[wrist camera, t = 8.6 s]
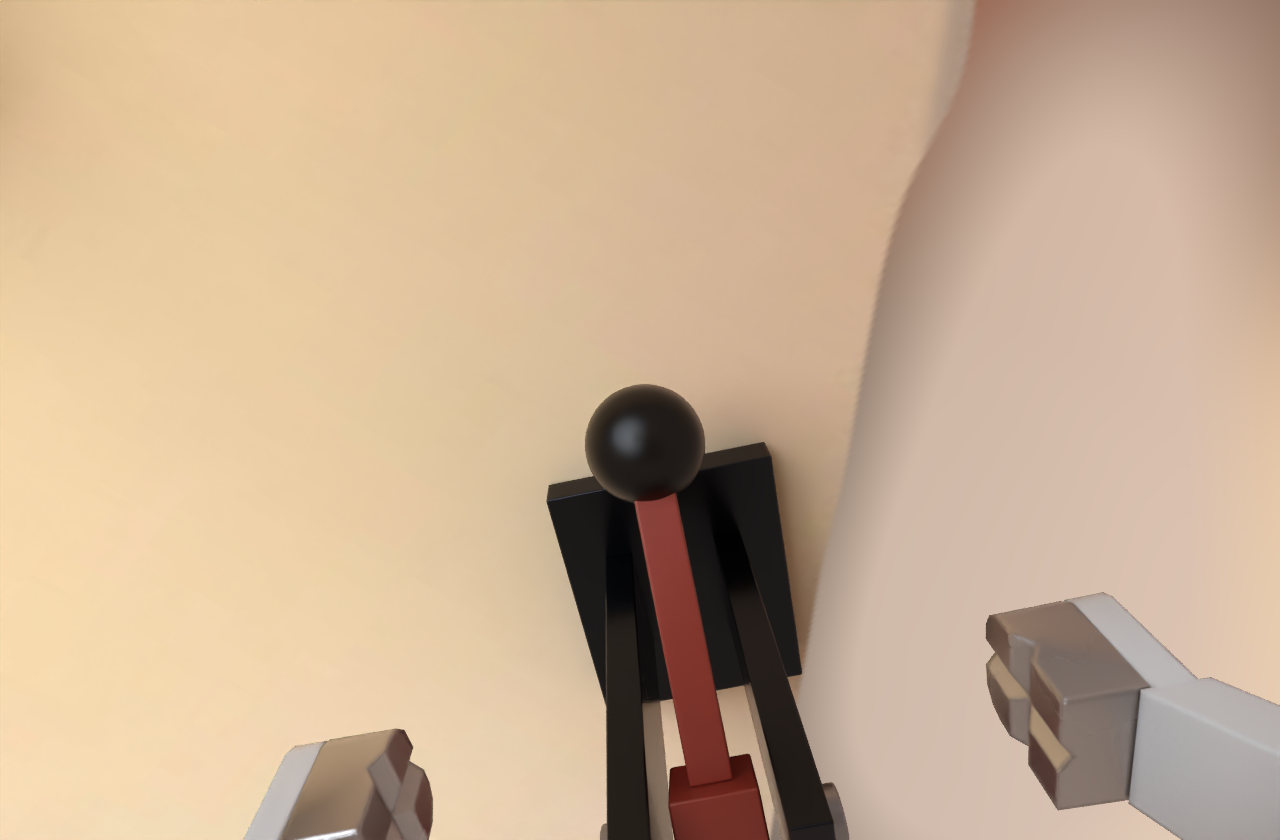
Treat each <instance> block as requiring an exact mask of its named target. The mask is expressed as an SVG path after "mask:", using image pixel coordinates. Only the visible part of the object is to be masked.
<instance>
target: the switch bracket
mask: <svg viewBox="0 0 1280 840" xmlns="http://www.w3.org/2000/svg"><path fill="white" fill-rule="evenodd" d="M677 500H678V505H679V510H680V515H681V520H682V525H683V530H684V535H685V540H686V545H687V550H688V555H689V560H690V564H691V569H692V574H693V579H694V584H695V589H696V594H697V599H698V604H699V609H700V614H701V619H702V624H703V629H704V634H705V639H706V643H707V648H708V653H709V658H710V663H711V668H712V673H713V678H714V683H715V688H716V690H722V689H727V688H732V687H737V686H743V685H744V687H745V691H746V695H747V699H748V703H749V707H750V712H751V716H752V720H753V724H754V728H755V732H756V736H757V740H758V744H759V748H760V752H761V757H762V761H763V765H764V769H765V773H766V777H767V781H768V785H769V789H770V793H771V797H772V802H773V806H774V810H775V814H776V818H777V822H778V826H779V829H780V834H781V838H782V840H849V833H848V828H847V823H846V819H845V814H844V811H843V807H842V804H841V801H840V797H839V794H838V792H837V789H836V787H835V785H834V784H833V783H825V784H822V783H821V780H820V777H819V774H818V771H817V768H816V765H815V762H814V758H813V755H812V752H811V749H810V746H809V743H808V740H807V737H806V734H805V731H804V728H803V725H802V722H801V719H800V716H799V712H798V709H797V706H796V703H795V700H794V697H793V694H792V691H791V687H790V684H789V681H788V678H787V677H790V676H796V675H801V674H802V668H801V661H800V654H799V647H798V640H797V633H796V626H795V619H794V612H793V605H792V598H791V591H790V584H789V577H788V570H787V563H786V556H785V549H784V542H783V535H782V528H781V521H780V514H779V507H778V500H777V493H776V486H775V479H774V472H773V465H772V458H771V455H770V453H769V451H768V449H767V447H766V445H765V443H764V442H761V443H756V444H751V445H746V446H741V447H737V448H732V449H727V450H722V451H717V452H712V453H707V454H704V458H703V462H702V465H701V467H700V470H699V472H698V474H697V475H696V477H695V479H694V480H693V481H692V483H691V484H690V485H689V486H688V487H687V488H686V489H685V490H684V491H682V492H681V493H680V494H678V495H677ZM547 505H548V509H549V512H550V515H551V519H552V522H553V526H554V529H555V533H556V536H557V539H558V543H559V546H560V550H561V553H562V557H563V560H564V563H565V567H566V570H567V574H568V577H569V581H570V584H571V588H572V591H573V594H574V598H575V601H576V605H577V608H578V612H579V615H580V618H581V622H582V625H583V629H584V632H585V636H586V639H587V642H588V646H589V649H590V653H591V656H592V660H593V663H594V667H595V670H596V673H597V677H598V680H599V684H600V687H601V691H602V694H603V697H604V701H605V704H606V744H607V824H603V825H602V827H601V832H600V840H673V832H672V823H671V818H670V813H669V808H668V801H669V791H668V780H667V770H666V759H665V749H664V738H663V728H662V718H661V707H660V701H663V700H669V699H673V698H672V693H671V688H670V682H669V677H668V672H667V667H666V662H665V657H664V652H663V647H662V641H661V636H660V631H659V626H658V621H657V616H656V611H655V606H654V600H653V595H652V590H651V585H650V580H649V575H648V570H647V565H646V560H645V554H644V549H643V544H642V539H641V534H640V529H639V524H638V519H637V513H636V508H635V504H634V503H630V502H626V501H624V500H621V499H619V498H617V497H615V496H614V495H612V494H610V493H609V492H608V491H607V490H605V489H604V488H603V487H602V486H601V485H600V484H599V482H598V481H597V480H596V478H595V477H594V476H592V477H587V478H582V479H577V480H572V481H567V482H562V483H557V484H553V485H549V488H548V495H547Z"/></svg>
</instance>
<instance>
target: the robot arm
mask: <svg viewBox="0 0 1280 840" xmlns="http://www.w3.org/2000/svg"><path fill="white" fill-rule="evenodd" d="M986 639H987V641H988V642H989V644H990V645H991V647H992V648H993V650H994V651H995V653H994V655H993V656H992V657H991V659H990V660H989V661H988V663H987V664H986V668H987V684H988V688H989V692H990V695H991V699H992V703H993V705H994V707H995V710H996V712H997V714H998V716H999V718H1000V720H1001V722H1002V724H1003V725H1004V727H1005V728H1006V730H1007V732H1008V733H1009V735H1010V736H1011V737H1013V738H1015V739H1016V740H1018V741H1020V742H1022V743H1024V744H1025V745H1027V746H1029V751H1028V754H1029V755H1028V764H1029V766H1030V768H1031V769H1032V771H1033V772H1034V774H1035V776H1036V777H1037V779H1038V780H1039V782H1040V783H1041V785H1042V786H1043V788H1044V790H1045V791H1046V793H1047V794H1048V796H1049V797H1050V799H1051V800H1052V802H1053V804H1054V805H1055V807H1056V808H1057V810H1063V809H1070V808H1077V807H1084V806H1090V805H1096V804H1104V803H1111V802H1117V801H1124V800H1129V804H1130V805H1132V806H1133V807H1134V808H1136V809H1137V810H1139V811H1140V812H1142V813H1143V814H1145V815H1146V816H1148V817H1149V818H1151V819H1152V820H1154V821H1155V822H1157V823H1158V824H1159V825H1161V826H1163V827H1164V828H1165V829H1167V830H1168V831H1170V832H1171V833H1173V834H1174V835H1176V836H1177V837H1178V838H1180V839H1181V840H1280V705H1277V704H1275V703H1272V702H1270V701H1268V700H1265V699H1262V698H1260V697H1258V696H1255V695H1253V694H1250V693H1248V692H1246V691H1243V690H1241V689H1238V688H1236V687H1233V686H1231V685H1228V684H1226V683H1223V682H1221V681H1218V680H1216V679H1214V678H1211V677H1210V678H1203V679H1198V678H1197V677H1196V676H1195V675H1193V674H1192V673H1191V672H1190V671H1189V670H1188V669H1187V668H1186V667H1185V666H1184V665H1183V664H1182V663H1181V662H1180V661H1179V660H1178V659H1177V658H1176V657H1175V656H1174V655H1172V653H1171V652H1170V651H1169V650H1168V649H1166V648H1165V647H1164V646H1163V645H1162V644H1161V643H1160V642H1159V641H1158V640H1157V639H1156V638H1155V637H1154V636H1153V635H1152V634H1151V633H1150V632H1149V631H1148V630H1147V629H1146V628H1145V627H1144V626H1143V625H1142V624H1140V622H1138V621H1137V620H1136V619H1135V618H1134V617H1133V616H1132V615H1131V614H1130V613H1129V612H1128V611H1127V610H1126V609H1125V608H1124V607H1123V606H1122V605H1121V604H1120V603H1119V602H1118V601H1117V600H1116V599H1114V597H1112V596H1110V595H1108V594H1106V593H1103V592H1102V593H1097V594H1093V595H1088V596H1083V597H1078V598H1073V599H1068V600H1065V601H1063V602H1061V601H1059V602H1054V603H1050V604H1044V605H1039V606H1034V607H1029V608H1025V609H1019V610H1014V611H1010V612H1004V613H999V614H994V615H989V618H988V620H987V623H986ZM412 749H413V746H412V744H411V742H410V740H409V738H408V736H407V734H406V732H405V730H401V729H391V730H385V731H379V732H373V733H367V734H361V735H355V736H349V737H343V738H337V739H330V740H329V741H324V742H317V743H311V744H305V745H298V746H295V747H294V748H292V749H291V750H290V751H289V752H288V753H287V754H286V755H285V756H284V758H283V760H282V762H281V764H280V766H279V768H278V770H277V772H276V774H275V776H274V778H273V780H272V783H271V785H270V787H269V789H268V791H267V793H266V795H265V797H264V799H263V801H262V803H261V805H260V807H259V809H258V811H257V813H256V815H255V817H254V819H253V821H252V823H251V825H250V827H249V829H248V831H247V833H246V835H245V837H244V839H243V840H429V836H430V831H431V827H432V822H433V797H432V793H431V788H430V783H429V780H428V778H427V776H426V774H425V771H424V769H422V768H420V767H419V766H417V765H415V764H413V763H412V762H410V761H409V760H410V756H411V753H412Z"/></svg>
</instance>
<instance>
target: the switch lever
mask: <svg viewBox="0 0 1280 840" xmlns="http://www.w3.org/2000/svg"><path fill="white" fill-rule="evenodd" d="M585 452H586V458H587V462H588V465H589V467H590V470H591V472H592V473H593V475H594V477H595V478H596V480H597V481H598V482H599V484H600V485H601V486H602V487H603V488H604V489H605V490H607V491H608V492H609V493H610V494H612V495H614V496H615V497H617V498H619V499H621V500H624V501H626V502H630V503H634V504H635V508H636V513H637V519H638V524H639V529H640V534H641V539H642V544H643V549H644V554H645V560H646V565H647V570H648V575H649V580H650V585H651V590H652V595H653V600H654V606H655V611H656V616H657V621H658V626H659V631H660V636H661V641H662V647H663V652H664V657H665V662H666V667H667V672H668V677H669V682H670V688H671V693H672V698H673V703H674V708H675V713H676V718H677V723H678V728H679V734H680V739H681V744H682V749H683V754H684V759H685V764H686V765H685V766H679V767H674V768H671V769H670V780H669V801H668V808H669V813H670V818H671V823H672V829H673V834H674V839H675V840H770V839H769V834H768V829H767V824H766V819H765V815H764V810H763V805H762V800H761V795H760V790H759V786H758V783H757V779H756V775H755V771H754V768H753V764H752V760H751V756H750V755H749V754H744V755H739V756H733V757H729V752H728V747H727V742H726V737H725V732H724V727H723V722H722V718H721V713H720V708H719V703H718V698H717V693H716V688H715V683H714V678H713V673H712V668H711V663H710V658H709V653H708V648H707V643H706V639H705V634H704V629H703V624H702V619H701V614H700V609H699V604H698V599H697V594H696V589H695V584H694V579H693V574H692V569H691V564H690V560H689V555H688V550H687V545H686V540H685V535H684V530H683V525H682V520H681V515H680V510H679V505H678V500H677V495H678V494H680V493H681V492H682V491H684V490H685V489H686V488H687V487H688V486H689V485H690V484H691V483H692V481H693V480H694V479H695V477H696V475H697V474H698V472H699V470H700V467H701V465H702V462H703V458H704V452H705V437H704V431H703V427H702V424H701V422H700V420H699V417H698V415H697V414H696V412H695V410H694V409H693V408H692V407H691V405H690V404H689V403H688V402H687V401H686V400H685V399H684V398H682V397H681V396H680V395H678V394H677V393H675V392H673V391H672V390H669V389H667V388H664V387H661V386H657V385H649V384H641V385H634V386H630V387H626V388H623V389H621V390H619V391H617V392H615V393H613V394H612V395H610V396H609V397H608V398H606V399H605V400H604V401H603V402H602V403H601V404H600V405H599V407H598V408H597V409H596V411H595V412H594V414H593V416H592V417H591V419H590V422H589V424H588V428H587V431H586V437H585Z"/></svg>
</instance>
